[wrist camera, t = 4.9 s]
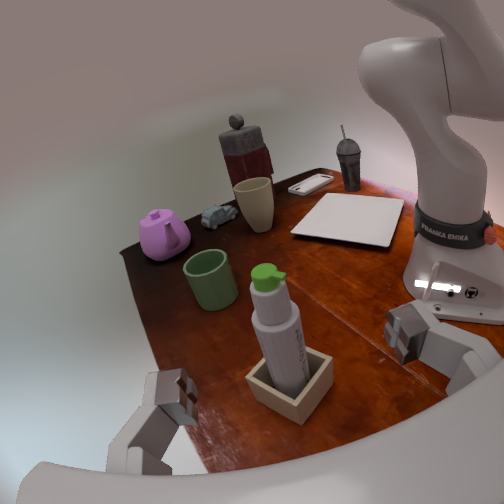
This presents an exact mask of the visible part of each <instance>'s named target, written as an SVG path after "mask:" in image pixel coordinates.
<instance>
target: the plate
mask: <svg viewBox="0 0 504 504" xmlns="http://www.w3.org/2000/svg"><path fill="white" fill-rule="evenodd" d="M403 203H404V200H401V199H392V198H382V197H372V196H361V195H349V194H335V193H327V194H325V196H324V197H323V198H322V199H321V200H320V201H319V202H318V203H317V204H316V205H315V206H314V207H313V208H312V210H311V211H310V212H309V213H308V214H307V215H306V216H305V217H304V218H303V219H302V220H301V221H300V222H299V224H298V225H297V226H296V227H295V228H294V229H293V230H292V231H291V233H292V234H297V235H305V236H312V237H319V238H326V239H333V240H340V241H347V242H353V243H360V244H367V245H373V246H380V247H388V246H389V245H390V242H391V239H392V236H393V233H394V230H395V227H396V225H397V222H398V218H399V215H400V212H401V209H402V206H403Z"/></svg>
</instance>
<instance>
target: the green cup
mask: <svg viewBox="0 0 504 504" xmlns="http://www.w3.org/2000/svg"><path fill="white" fill-rule="evenodd" d="M183 271H184V273H185V276H186V278H187V280H188V282H189V284H190V287H191V289H192V291H193V293H194V295H195V297H196V300H197V302H198V304H199V305H200V307H201V308H203V309H205V310H208V311H216V310H220V309H223V308H225V307H227V306H229V305H230V304H232V303H233V302H234V301H235V299H236V298H237V296H238V288H237V284H236V281H235V278H234V275H233V272H232V269H231V266H230V263H229V260H228V257H227V254H226V253H225V252H224V251H222V250H219V249H210V250H206V251H202V252H200V253H197V254H195V255H194V256H192V257H191V258H189V259H188V260H187V262H186V263H185V264H184V267H183Z"/></svg>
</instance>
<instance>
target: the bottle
mask: <svg viewBox="0 0 504 504" xmlns="http://www.w3.org/2000/svg"><path fill="white" fill-rule="evenodd" d="M251 277H252V283H251V285H250V291H251V296H252V300H253V304H254V307H255V310H254V312H253V314H252V323H253V326H254V329H255V332H256V335H257V338H258V341H259V344H260V346H261V349H262V352H263V355H264V358H265V360H266V363H267V366H268V369H269V372H270V374H271V377H272V380H273V383H274V386H275V388H276V390H277V391H279V392H281V393H283V394H285V395H286V396H288V397H290V398H292V399H294V400H296V398H297V397H298V396H299V395H300V393H301V392H302V391H303V389H304V388H305V387H306V386H307V384H308V383H309V382H310V373H309V367H308V361H307V354H306V348H305V342H304V336H303V330H302V324H301V318H300V313H299V309H298V307H297V305H296V304H295V303H294V302H293V301H291V300H290V297H289V293H288V289H287V286H286V283H285V279H286V277H287V274H286V273H283V272H278V271H277V268H276V266H275V265H273V264H270V263H264V264H260V265H258V266H256V267H255V268H254V269H253V270H252V272H251Z"/></svg>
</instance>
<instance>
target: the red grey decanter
mask: <svg viewBox="0 0 504 504" xmlns="http://www.w3.org/2000/svg"><path fill="white" fill-rule="evenodd" d="M229 124H230V126H231V127H232V128H233V130H230V131H228V132H225V133H222V134H220V135H219V141H220V144H221V148H222V152H223V155H224V159H225V162H226V166H227V169H228V173H229V177H230V180H231V184H232V187H233V188H234V186H235V185H237V184H238V183H240V182H242V181H245V180H248V179H252V178H258V177H265V178H269V179H270V180H271V187H272V194H273V200H275V199H276V194H275V190H274V185H273V181H272V176H271V174H273V173H274V172H273V168H272V164H271V159H270V154H269V150H268V149H267V147H266V145H265V143H264V141H263V137H262V133H261V129H260V127H259V126H247V127H243V125H244V119H243V117H242V116H241V115H239V114H235V115H232V116H230V117H229ZM233 191H234V189H233ZM234 194H235V192H234ZM235 198H236V195H235ZM236 202H237V205H238V206H239V203H238V201H237V198H236Z"/></svg>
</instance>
